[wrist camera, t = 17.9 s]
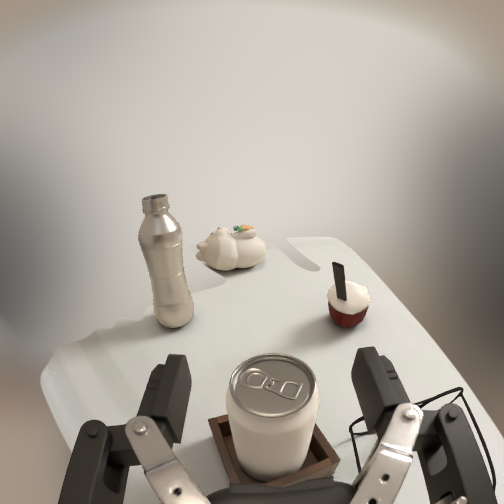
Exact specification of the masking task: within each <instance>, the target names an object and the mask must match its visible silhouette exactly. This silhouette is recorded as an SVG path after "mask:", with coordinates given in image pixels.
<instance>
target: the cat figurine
mask: <svg viewBox="0 0 504 504" xmlns="http://www.w3.org/2000/svg"><path fill="white" fill-rule="evenodd" d="M237 230H239V231H238V232H236V233H233V234H232V233H230V232H229V230H227V229H226V228H218V229H217V231H215V232H214V233H211V235H210V236H209V237H208V238H207V239H206V240H205V241H204V242H201V243H199V244H197V248H198V249H199V250H200V252H198V253H197V255H196V258H197V259H198V260H200V261H204V262H206V263H207V264H208V265H210V266H211V267H213V268H215V269H218V270H223V271H229V270H232V269H234V268H248V267H252V266H254V265H256V264H258V263H259V262H260V261H261V260H262V259H263V258H264V256H265V254H266V250H267V249H266V245H265V243H264V241H263V240H262V239H260V238H259V237H257V236H255V235H256V231H255V230H254V228H253V227H251V226H247V225H241V226H240V227H239V226H237V227H236V228H234V231H237Z"/></svg>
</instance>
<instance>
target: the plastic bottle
mask: <svg viewBox="0 0 504 504" xmlns="http://www.w3.org/2000/svg"><path fill="white" fill-rule="evenodd" d="M142 205H143V209H142V210H143V213H145V218H144V220H143V222H142V224H141V227H140V230H139V235H138V240H139V244H140V246H141V250H142V252H143V255H144V258H145V261H146V264H147V268H148V271H149V275H150V279H151V284H152V291H153V298H154V299H153V305H154V312H155V315H156V317H157V319H158V321H159V322H160V323H161V324H163V325H164V326H166V327H170V328H176V327H181V326H183V325H185V324H187V323H188V322H189V321H190V320H191V318H192V316H193V314H194V303H193V300H192V297H191V294H190V292H189V290H188V286H187V282H186V278H185V274H184V267H183V257H182V230H181V227H180V225H179V223H178V222H177V221H176V220H175V219H174V217H173V216H172V215H171V214H170V213H169V212H168V209H169V208H170V207H169V204H168V197H167V195H166V194H158V195H151V196H147V197H145V198H143V199H142Z"/></svg>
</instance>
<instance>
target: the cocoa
mask: <svg viewBox="0 0 504 504" xmlns="http://www.w3.org/2000/svg"><path fill="white" fill-rule="evenodd" d="M332 266H333V273H334V280H335V285H334V286H332V287H331V288H330V289H329V290H328V293H327V297H328V306H329V312H330V317H331V319H332V320H333V321H334V322H335V323H336V324H338V325H340V326H342V327H352V326H356V325H357V324H359V323H360V322H361V321H362V320H363V319H364V317H365V315H366V312H367V309H368V306H369V304H370V301H371V299H370V297H369V294H368V290H367V289H366V288H365V287H364V286H361V285H358V284H356V283H354V282H350V281H346V280H345V274H344V266H343V265H342V264H339V263H336V262H332Z"/></svg>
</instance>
